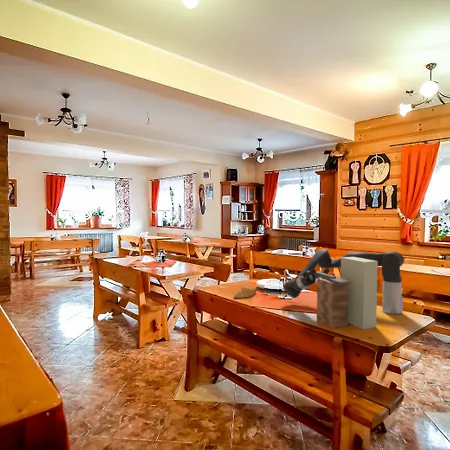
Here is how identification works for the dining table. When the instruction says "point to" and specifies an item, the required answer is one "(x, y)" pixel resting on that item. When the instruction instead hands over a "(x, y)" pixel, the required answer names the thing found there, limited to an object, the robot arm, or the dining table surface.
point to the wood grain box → (332, 303)
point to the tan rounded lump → (245, 292)
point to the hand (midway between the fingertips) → (321, 270)
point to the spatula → (332, 278)
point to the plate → (262, 283)
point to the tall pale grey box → (361, 290)
